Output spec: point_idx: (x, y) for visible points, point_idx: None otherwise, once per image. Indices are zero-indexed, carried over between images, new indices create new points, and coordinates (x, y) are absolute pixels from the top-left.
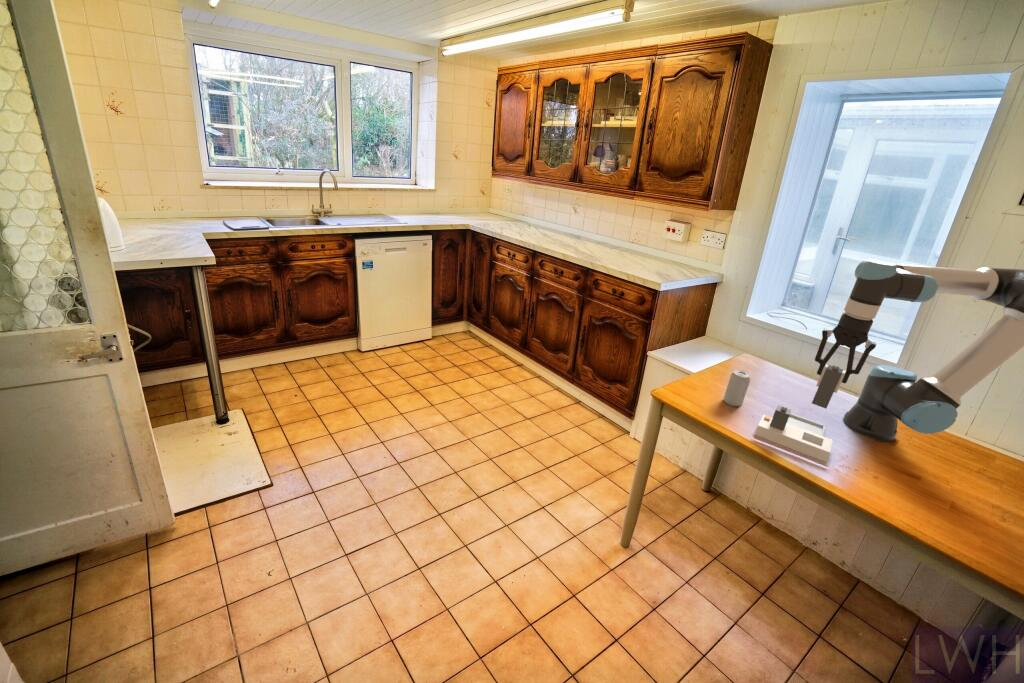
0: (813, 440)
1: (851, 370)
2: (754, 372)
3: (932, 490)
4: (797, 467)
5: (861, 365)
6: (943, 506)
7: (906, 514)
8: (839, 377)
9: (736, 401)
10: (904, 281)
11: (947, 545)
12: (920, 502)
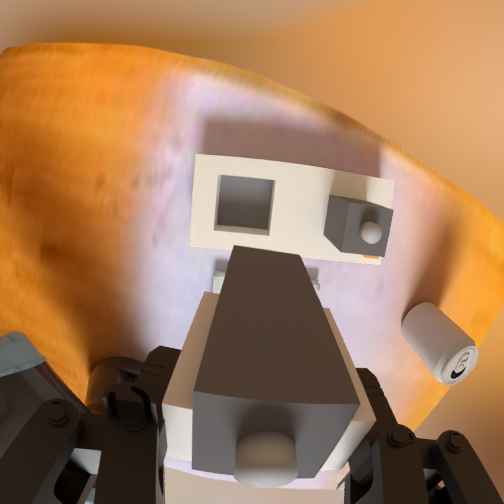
0: (237, 228)
1: (108, 443)
2: None
3: (26, 218)
4: (270, 86)
5: (3, 477)
6: (18, 171)
7: (68, 82)
8: (209, 355)
9: (424, 309)
10: None
11: (38, 51)
12: (41, 150)
